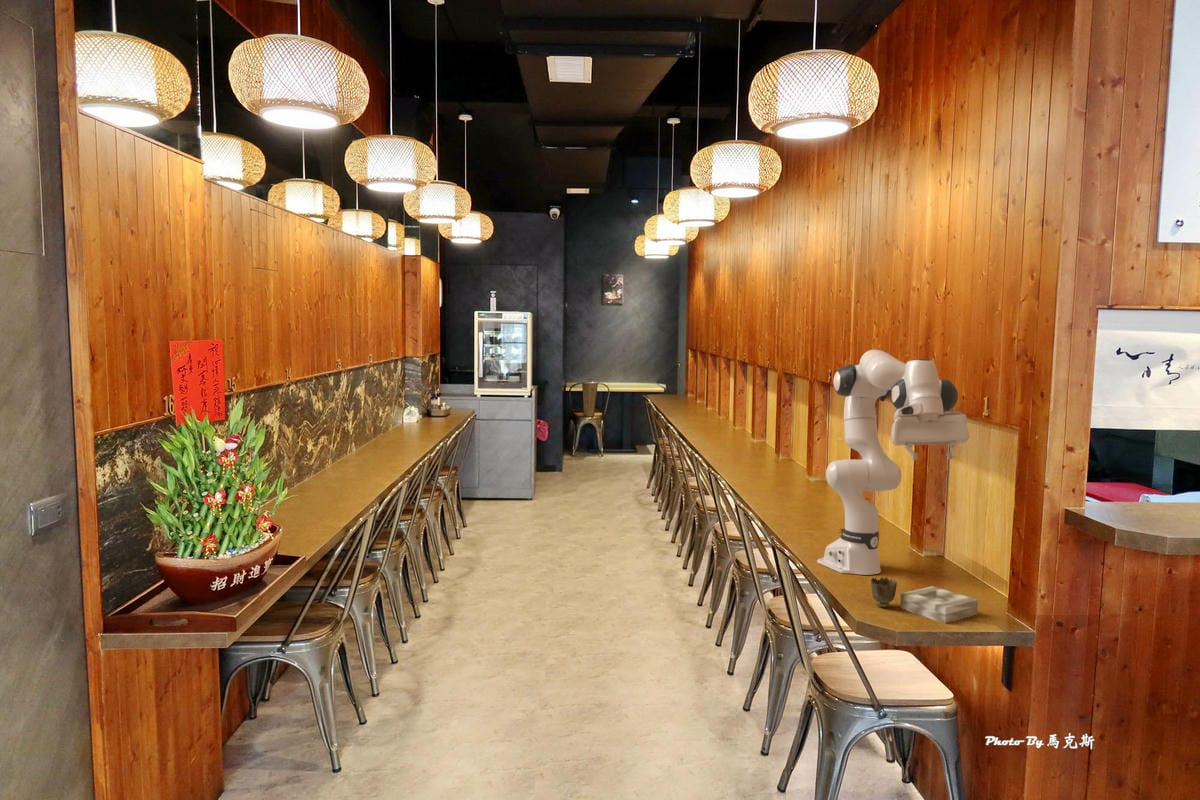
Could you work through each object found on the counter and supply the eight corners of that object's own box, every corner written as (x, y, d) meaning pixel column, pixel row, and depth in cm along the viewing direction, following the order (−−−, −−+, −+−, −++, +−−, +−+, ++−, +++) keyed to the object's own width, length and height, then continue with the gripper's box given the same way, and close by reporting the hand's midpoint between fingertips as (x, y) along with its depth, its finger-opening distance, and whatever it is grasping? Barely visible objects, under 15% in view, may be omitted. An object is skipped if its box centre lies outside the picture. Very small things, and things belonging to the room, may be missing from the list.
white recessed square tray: (900, 609, 235) (900, 593, 235) (932, 602, 243) (932, 586, 242) (944, 624, 222) (945, 607, 222) (977, 616, 230) (977, 599, 230)
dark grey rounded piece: (890, 602, 240) (891, 577, 239) (900, 610, 233) (901, 584, 232) (866, 602, 240) (867, 576, 239) (875, 610, 232) (876, 584, 232)
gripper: (962, 413, 224) (969, 460, 220) (887, 416, 228) (892, 463, 223) (968, 406, 218) (975, 455, 214) (891, 409, 222) (897, 457, 217)
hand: (932, 459), depth 219 cm, fingers open, 8 cm apart
